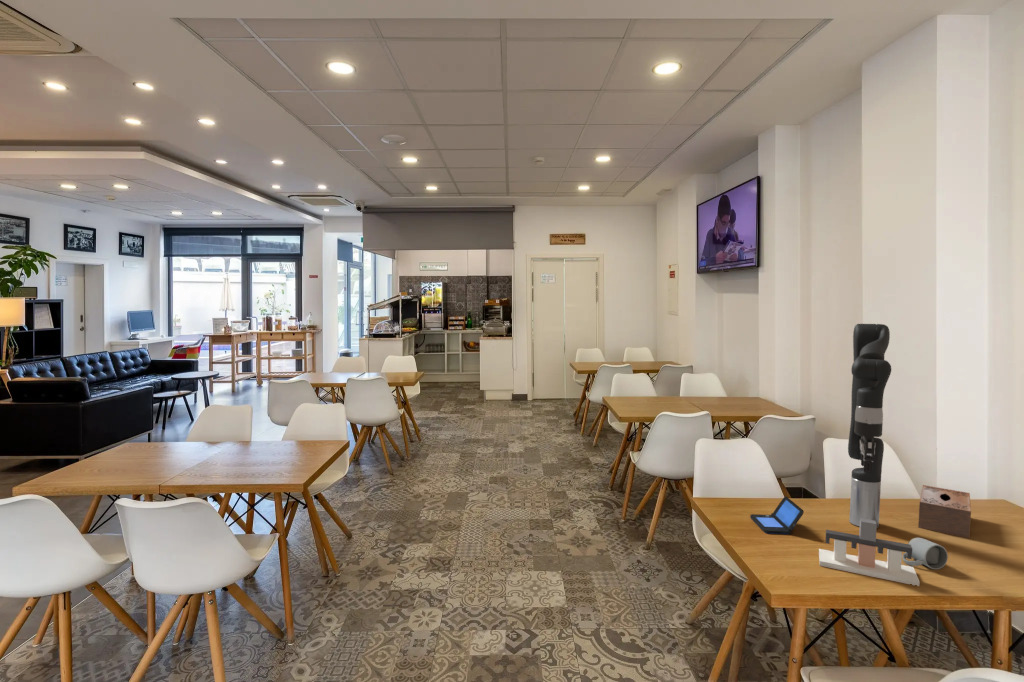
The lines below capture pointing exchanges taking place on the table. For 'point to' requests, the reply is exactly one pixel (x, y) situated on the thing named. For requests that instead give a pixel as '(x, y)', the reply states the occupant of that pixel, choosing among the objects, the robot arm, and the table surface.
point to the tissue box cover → (945, 511)
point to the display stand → (868, 563)
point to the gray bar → (869, 538)
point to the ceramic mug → (927, 554)
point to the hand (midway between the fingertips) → (866, 469)
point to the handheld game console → (779, 518)
